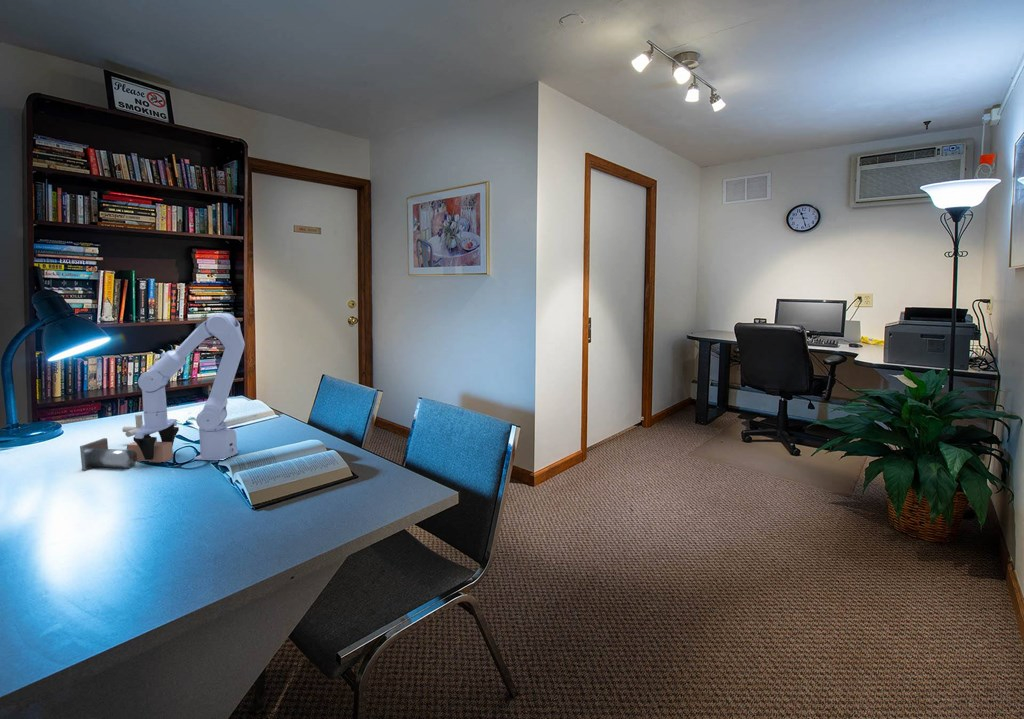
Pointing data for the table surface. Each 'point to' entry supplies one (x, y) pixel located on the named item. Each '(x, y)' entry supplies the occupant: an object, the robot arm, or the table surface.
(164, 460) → the tan piece
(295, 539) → the table surface
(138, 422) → the pipe connector
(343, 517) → the table surface
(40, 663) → the table surface
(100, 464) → the grey cylinder with plate
